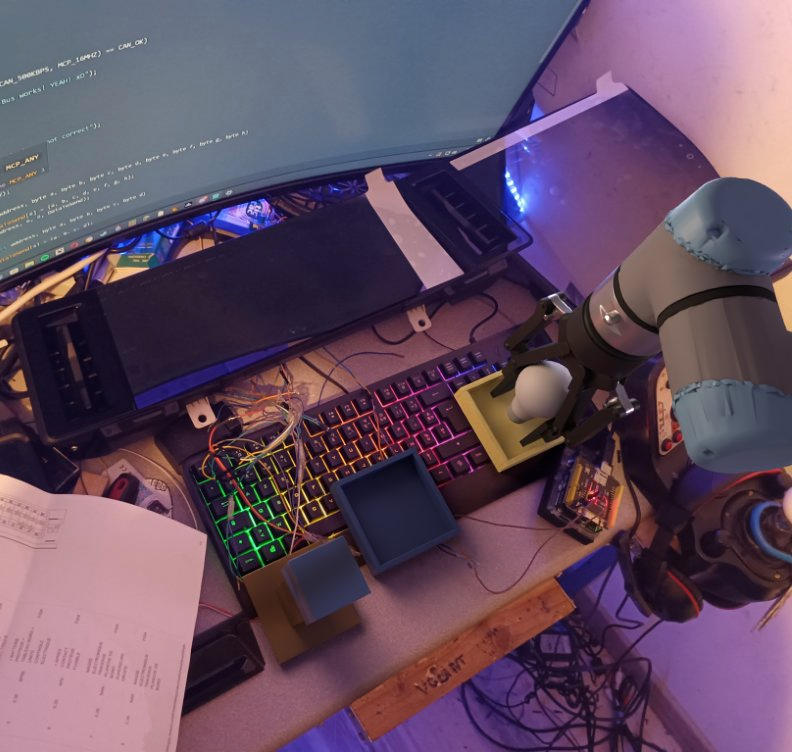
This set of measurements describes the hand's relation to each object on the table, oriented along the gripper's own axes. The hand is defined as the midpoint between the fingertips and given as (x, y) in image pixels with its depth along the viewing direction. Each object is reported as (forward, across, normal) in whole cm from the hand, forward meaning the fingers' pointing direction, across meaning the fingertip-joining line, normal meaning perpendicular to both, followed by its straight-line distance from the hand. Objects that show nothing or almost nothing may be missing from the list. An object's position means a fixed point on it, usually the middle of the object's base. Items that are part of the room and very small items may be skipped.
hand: (515, 415), depth 83 cm
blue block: (-11, +8, -32) cm, 34 cm away
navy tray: (+1, +4, -18) cm, 19 cm away
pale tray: (+1, 0, 0) cm, 1 cm away
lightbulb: (0, 0, 0) cm, 0 cm away
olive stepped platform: (+1, +8, -32) cm, 32 cm away
